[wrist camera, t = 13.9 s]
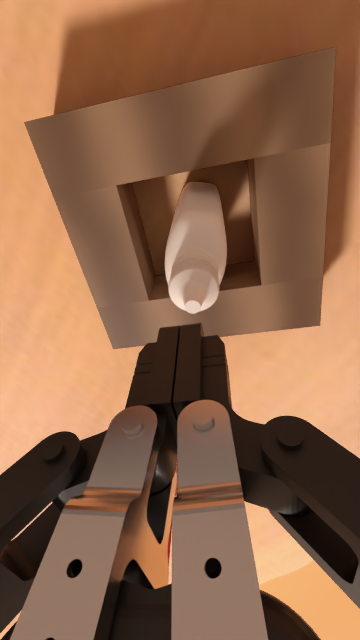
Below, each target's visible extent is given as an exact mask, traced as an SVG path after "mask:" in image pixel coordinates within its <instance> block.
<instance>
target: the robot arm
mask: <svg viewBox="0 0 360 640" xmlns="http://www.w3.org/2000/svg"><path fill="white" fill-rule="evenodd" d="M136 365H137V366H136V368H135V372H134V375H133V379H132V383H131V387H130V391H129V395H128V399H127V403H126V407H125V409H124V410H122V411H121V412H119V413H118V414H117V415H116V416H115V417H114V418H113V420H112V421H111V423H110V425H109V428H108V430H106V431H104V432H102V433H100V434H97V435H94V436H92V437H89V438H86V439H83V440H81V441H80V440H79V439H78V437H77V436H76V435H75V434H74V433H71V432H67V431H65V432H58V433H55V434H52V435H50V436H48V437H47V438H45V439H44V440H42V441H41V442H40V443H39V444H38V445H36V446H35V447H34V448H33V449H31V450H30V451H29V452H28V453H27V454H25V455H24V456H23V457H22V458H20V459H19V460H18V461H17V462H16V463H14V464H13V465H12V466H11V467H10V468H8V469H7V470H6V471H5V472H3V473H2V474H1V475H0V633H1V632H2V631H3V630H4V629H5V628H6V626H7V625H8V624H9V623H10V622H11V621H12V620H13V619H14V618H15V616H16V615H17V614H18V613H19V612H20V611H21V610H22V611H21V613H20V616H19V618H18V621H17V622H16V623H15V624H14V625H13V626H12V627H11V628H10V630H9V631H8V632H7V633H6V634H5V635H4V636H3V638H2V639H1V640H321V639H320V638H319V637H318V636H317V634H316V633H315V632H314V631H313V629H312V628H311V627H310V626H309V625H308V624H307V623H306V622H305V621H304V620H303V619H302V618H301V616H299V615H298V614H297V613H296V612H295V611H294V610H292V609H291V608H290V607H289V606H288V605H286V604H285V603H283V602H282V601H280V600H279V599H277V598H276V597H274V596H272V595H270V594H268V593H266V592H264V591H262V590H259V584H258V578H257V573H256V567H255V561H254V555H253V550H252V544H251V538H250V532H249V527H248V521H247V515H246V509H245V504H244V501H246V502H249V503H252V504H255V505H258V506H261V507H264V508H267V509H268V510H269V511H270V513H271V514H272V516H273V517H274V518H275V519H276V520H277V521H278V522H279V523H280V524H281V525H282V526H283V527H284V528H285V530H286V531H287V532H288V533H289V534H290V535H291V536H292V537H293V538H294V539H295V540H296V541H297V542H298V543H299V544H300V546H301V547H302V548H303V549H304V550H305V551H306V552H307V553H308V554H309V555H310V556H311V557H312V558H313V559H314V560H315V561H316V563H317V564H318V565H319V566H320V567H321V568H322V569H323V570H324V571H325V572H326V573H327V574H328V575H329V576H330V577H331V579H332V580H334V582H335V583H336V584H337V585H338V586H339V587H340V588H341V589H342V590H343V591H344V592H345V593H346V594H347V596H348V597H349V598H350V599H351V600H352V601H353V602H354V603H355V604H356V605H357V606H358V607H359V608H360V459H359V458H358V457H357V456H355V455H354V454H352V453H351V452H350V451H348V450H347V449H345V448H344V447H343V446H341V445H340V444H338V443H337V442H336V441H334V440H333V439H331V438H330V437H328V436H327V435H326V434H324V433H323V432H321V431H320V430H319V429H317V428H316V427H314V426H313V425H312V424H310V423H309V422H307V421H305V420H303V419H301V418H298V417H294V416H280V417H276V418H274V419H271V420H270V421H268V422H267V423H266V424H265V425H264V424H259V423H255V422H251V421H248V420H245V419H243V418H241V417H240V416H238V415H237V414H236V413H235V412H234V411H233V409H232V403H231V392H230V381H229V372H228V365H227V359H226V352H225V345H224V343H223V341H222V340H221V339H220V338H219V336H218V335H213V336H204V331H203V326H202V323H194V324H186V325H181V326H180V325H178V326H170V327H162V328H160V329H159V332H158V338H157V342H153V343H147V344H146V345H145V346H144V348H143V349H142V350H141V352H140V353H139V356H138V360H137V364H136ZM177 454H178V493H177V497H175V492H176V485H177V473H176V459H177ZM51 502H53V503H52V504H51V505H50V506H49V507H48V508H47V509H46V510H45V511H44V512H43V513H42V514H41V515H40V516H39V517H37V518H36V519H35V520H34V521H33V522H32V523H31V524H30V525H29V526H28V527H27V528H26V529H25V530H24V531H23V532H22V533H21V534H20V535H19V536H18V537H16V538H15V539H14V540H12V539H13V538H14V537H15V536H16V535H17V534H18V533H19V532H20V531H21V530H22V529H23V528H24V527H25V526H26V525H27V524H29V523H30V522H31V521H32V520H33V519H34V518H35V517H36V516H37V515H38V514H39V513H40V512H41V511H42V510H43V509H44V508H45V507H46V506H47V505H48V504H49V503H51ZM171 519H172V584H169V585H168V577H169V566H168V556H167V550H168V540H169V533H170V526H171ZM11 540H12V541H11Z"/></svg>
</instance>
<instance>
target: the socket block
mask: <svg viewBox="0 0 360 640" xmlns="http://www.w3.org/2000/svg"><path fill="white" fill-rule="evenodd" d="M335 60H336V47H332V48H328V49H324V50H320V51H316V52H312V53H307V54H303V55H299V56H295V57H291V58H287V59H283V60H279V61H274V62H270V63H266V64H262V65H258V66H254V67H250V68H246V69H242V70H237V71H233V72H229V73H225V74H221V75H217V76H213V77H209V78H204V79H200V80H196V81H192V82H188V83H184V84H180V85H176V86H171V87H167V88H163V89H159V90H155V91H151V92H147V93H143V94H138V95H134V96H130V97H126V98H122V99H118V100H114V101H110V102H105V103H101V104H97V105H93V106H89V107H85V108H81V109H77V110H73V111H68V112H64V113H60V114H56V115H52V116H48V117H44V118H40V119H35V120H31V121H27V122H24V123H25V126H26V128H27V131H28V134H29V136H30V139H31V141H32V144H33V146H34V149H35V151H36V154H37V156H38V159H39V161H40V164H41V167H42V169H43V172H44V174H45V177H46V179H47V182H48V184H49V187H50V189H51V192H52V194H53V197H54V200H55V202H56V205H57V207H58V210H59V212H60V215H61V217H62V220H63V222H64V225H65V227H66V230H67V232H68V235H69V238H70V240H71V243H72V245H73V248H74V250H75V253H76V255H77V258H78V260H79V263H80V265H81V268H82V271H83V273H84V276H85V278H86V281H87V283H88V286H89V288H90V291H91V293H92V296H93V298H94V301H95V304H96V306H97V309H98V311H99V314H100V316H101V319H102V321H103V324H104V326H105V329H106V331H107V334H108V337H109V339H110V342H111V344H112V347H113V349H118V348H127V347H136V346H144V345H146V344H147V343H153V342H157V338H158V332H159V329H160V328H162V327H170V326H178V325H180V326H181V325H186V324H194V323H202V326H203V331H204V336H213V335H218V336H219V337H224V336H232V335H241V334H250V333H259V332H268V331H276V330H285V329H294V328H303V327H312V326H320V319H321V302H322V285H323V267H324V250H325V233H326V216H327V198H328V181H329V164H330V147H331V129H332V112H333V95H334V77H335ZM242 160H247V165H248V179H249V193H250V208H251V222H252V236H253V250H254V261H252V262H245V263H239V264H232V265H226V267H225V272H224V275H223V278H222V281H221V283H220V286H219V295H218V298H217V300H216V301H215V303H214V304H213V305H211V307H209V308H207V309H205V310H203V311H200V312H197V313H195V314H191V313H188V312H187V311H185V310H182V309H180V308H179V307H178V306H176V305H175V304H174V303H173V301H172V300H171V298H170V296H169V292H168V290H169V289H168V283H167V279H166V274H164V275H158V276H156V274H155V270H154V267H153V263H152V259H151V255H150V251H149V247H148V243H147V239H146V236H145V232H144V228H143V224H142V220H141V216H140V212H139V209H138V205H137V201H136V197H135V193H134V189H133V185H132V182H136V181H141V180H146V179H151V178H156V177H161V176H166V175H171V174H176V173H182V172H187V171H192V170H197V169H202V168H207V167H212V166H217V165H222V164H227V163H232V162H237V161H242Z"/></svg>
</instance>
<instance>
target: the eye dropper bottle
mask: <svg viewBox="0 0 360 640" xmlns="http://www.w3.org/2000/svg"><path fill="white" fill-rule="evenodd" d="M226 260H227V241H226V233H225V225H224V219H223V212H222V206H221V200H220V195H219V192H218V189H217V187H216V186H215V185H214V184H211V183H204V182H189V183H187V184H186V185H185V186H184V188H183V190H182V192H181V194H180V197H179V199H178V202H177V206H176V209H175V213H174V217H173V221H172V225H171V229H170V233H169V237H168V241H167V246H166V252H165V274H166V279H167V283H168V289H169V290H168V292H169V296H170V298H171V300H172V301H173V303H174V304H175V305H176V306H178V307H179V308H180V309H182V310H185V311H187V312H188V313H191V314H195V313H197V312H200V311H203V310H205V309H207V308H209V307H211V305H213V304H214V303H215V301H216V300H217V298H218V295H219V286H220V283H221V281H222V278H223V275H224V272H225V267H226Z"/></svg>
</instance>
